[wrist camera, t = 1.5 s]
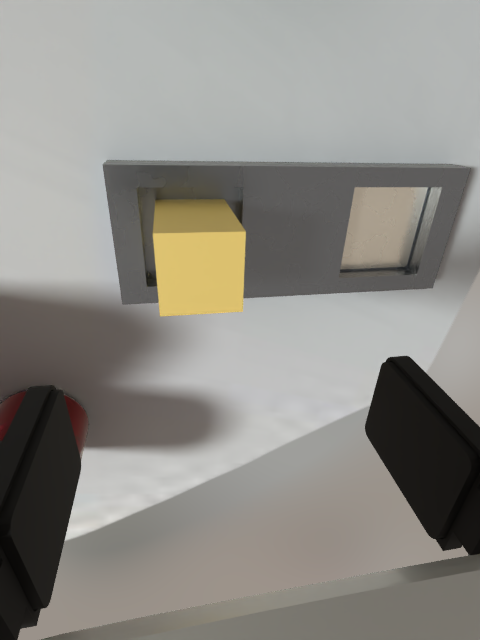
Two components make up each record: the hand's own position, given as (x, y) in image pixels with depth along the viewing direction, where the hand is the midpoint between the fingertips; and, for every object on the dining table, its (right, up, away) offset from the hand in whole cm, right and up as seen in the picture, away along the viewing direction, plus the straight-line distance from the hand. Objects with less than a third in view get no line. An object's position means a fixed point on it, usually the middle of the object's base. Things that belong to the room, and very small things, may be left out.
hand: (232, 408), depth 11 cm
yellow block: (-3, +9, +14) cm, 17 cm away
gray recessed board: (+4, +9, +16) cm, 19 cm away
